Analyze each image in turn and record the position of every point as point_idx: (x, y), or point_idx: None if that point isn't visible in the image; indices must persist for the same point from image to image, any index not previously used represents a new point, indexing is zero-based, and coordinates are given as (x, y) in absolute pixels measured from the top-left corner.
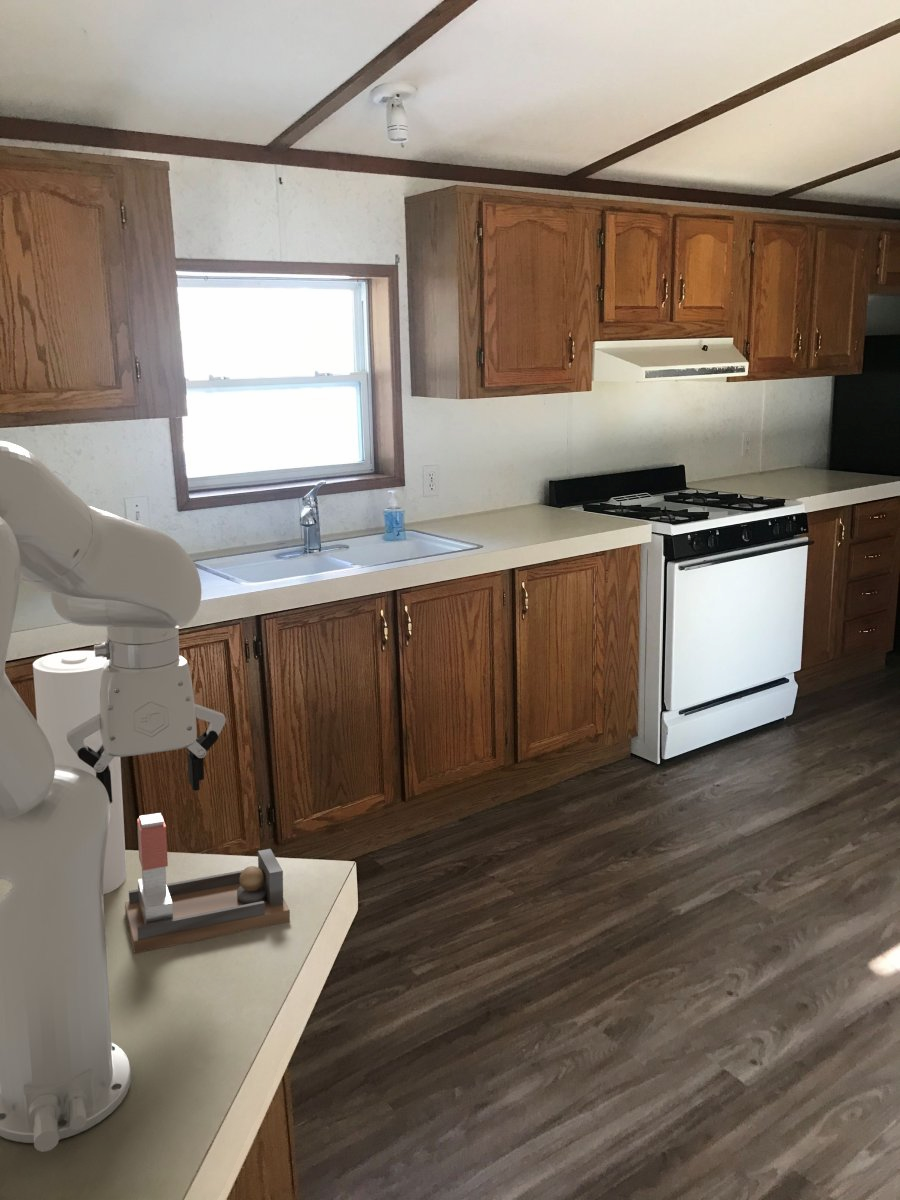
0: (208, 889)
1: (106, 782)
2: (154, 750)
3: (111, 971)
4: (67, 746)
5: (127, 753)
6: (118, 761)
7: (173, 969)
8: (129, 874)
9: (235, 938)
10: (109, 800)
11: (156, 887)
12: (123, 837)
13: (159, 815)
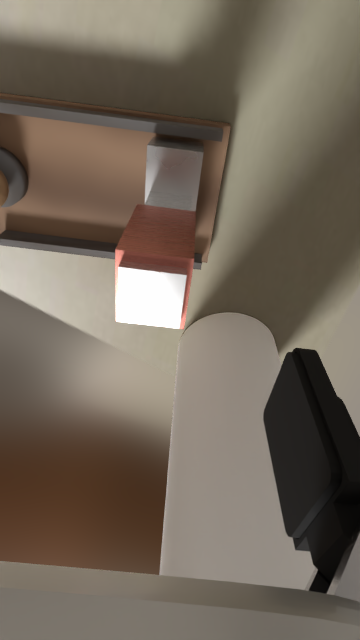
0: (75, 238)
1: (342, 427)
2: (15, 598)
3: (283, 79)
4: None
5: (296, 632)
6: (172, 522)
7: (181, 15)
8: (175, 342)
9: (48, 75)
10: (306, 355)
11: (168, 198)
12: (179, 381)
13: (124, 307)
